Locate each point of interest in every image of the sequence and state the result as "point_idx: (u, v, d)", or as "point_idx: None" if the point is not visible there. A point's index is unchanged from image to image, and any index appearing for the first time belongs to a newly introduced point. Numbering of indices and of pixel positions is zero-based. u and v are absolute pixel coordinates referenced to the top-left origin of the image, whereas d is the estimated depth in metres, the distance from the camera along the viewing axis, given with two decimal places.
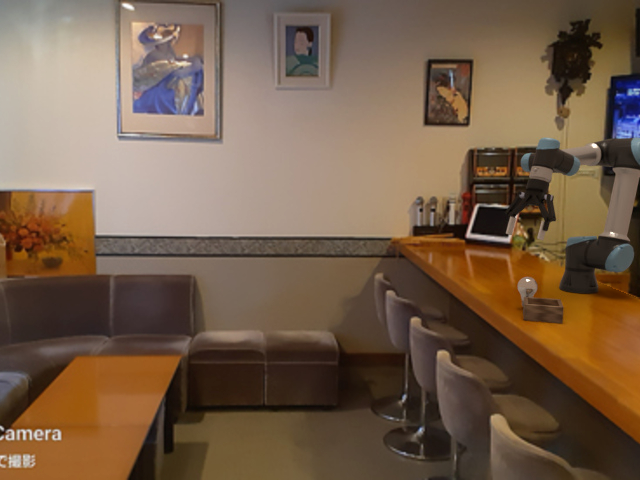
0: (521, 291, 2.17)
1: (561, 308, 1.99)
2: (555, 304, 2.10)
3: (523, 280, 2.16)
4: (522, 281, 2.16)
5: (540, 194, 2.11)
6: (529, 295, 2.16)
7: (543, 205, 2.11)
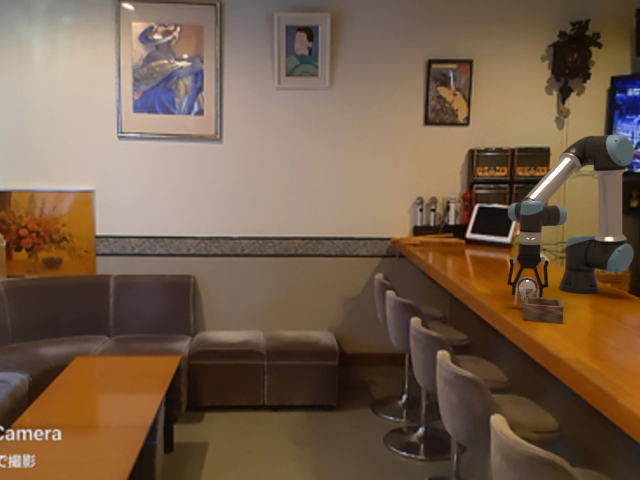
0: (521, 291, 2.17)
1: (561, 308, 1.99)
2: (555, 304, 2.10)
3: (523, 280, 2.16)
4: (522, 281, 2.16)
5: (537, 258, 2.15)
6: (529, 295, 2.16)
7: None
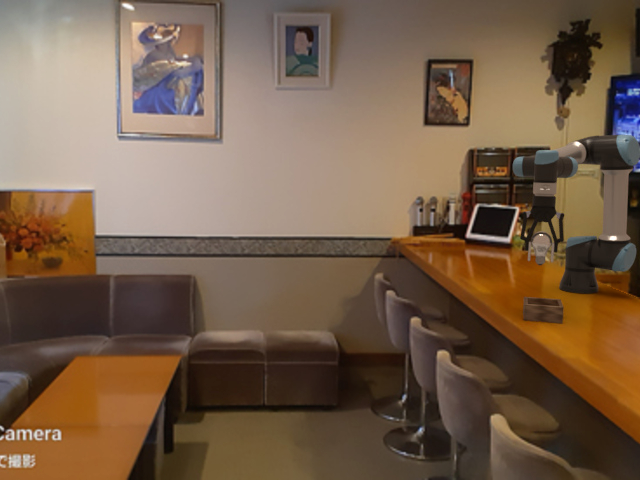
0: (535, 246, 2.05)
1: (561, 308, 1.99)
2: (555, 304, 2.10)
3: (537, 234, 2.05)
4: (536, 235, 2.05)
5: (553, 211, 2.03)
6: (543, 250, 2.04)
7: None
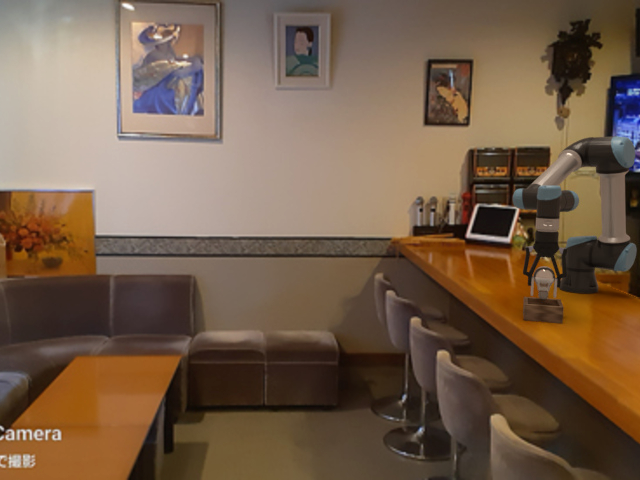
0: (538, 281, 2.04)
1: (561, 308, 1.99)
2: (555, 304, 2.10)
3: (540, 269, 2.04)
4: (539, 271, 2.04)
5: (555, 246, 2.02)
6: (546, 285, 2.03)
7: None
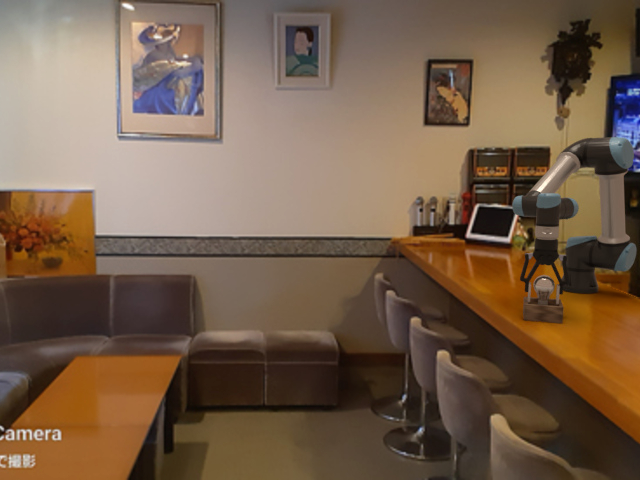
0: (537, 290, 2.04)
1: (561, 308, 1.99)
2: (555, 304, 2.10)
3: (540, 278, 2.04)
4: (538, 279, 2.04)
5: (555, 254, 2.02)
6: (546, 294, 2.04)
7: None
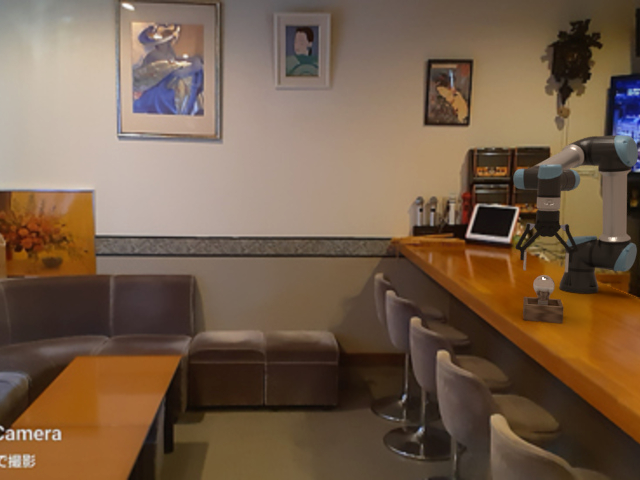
0: (537, 290, 2.04)
1: (561, 308, 1.99)
2: (555, 304, 2.10)
3: (539, 278, 2.04)
4: (538, 279, 2.04)
5: (556, 225, 2.01)
6: (546, 294, 2.04)
7: (559, 235, 2.03)
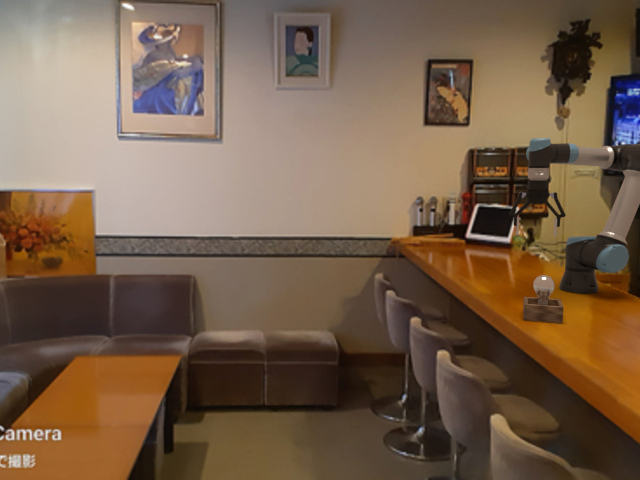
0: (537, 290, 2.04)
1: (561, 308, 1.99)
2: (555, 304, 2.10)
3: (539, 278, 2.04)
4: (538, 279, 2.04)
5: (546, 193, 2.23)
6: (546, 294, 2.04)
7: None
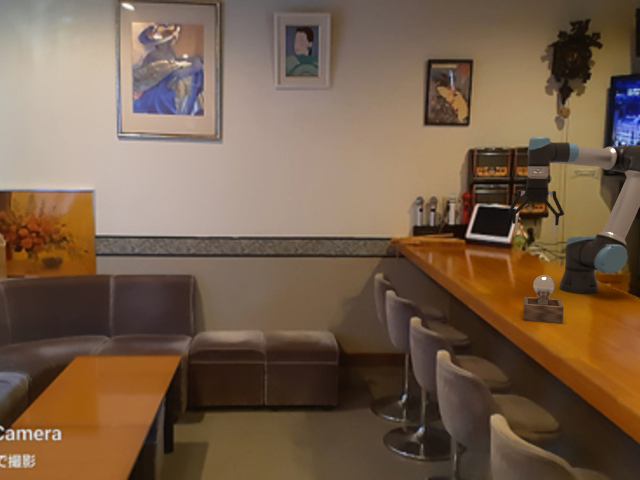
0: (537, 290, 2.04)
1: (561, 308, 1.99)
2: (555, 304, 2.10)
3: (539, 278, 2.04)
4: (538, 279, 2.04)
5: (544, 192, 2.24)
6: (546, 294, 2.04)
7: None
